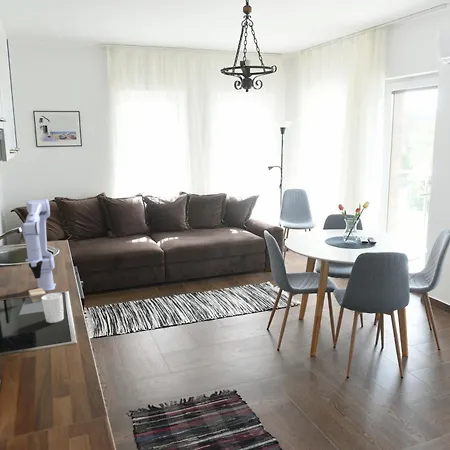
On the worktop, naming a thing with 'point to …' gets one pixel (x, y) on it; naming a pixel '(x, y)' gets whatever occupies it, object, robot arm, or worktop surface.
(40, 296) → the birch slab
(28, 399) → the worktop surface
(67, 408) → the worktop surface
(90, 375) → the worktop surface
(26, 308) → the rubber mat
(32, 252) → the robot arm
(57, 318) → the white cup
